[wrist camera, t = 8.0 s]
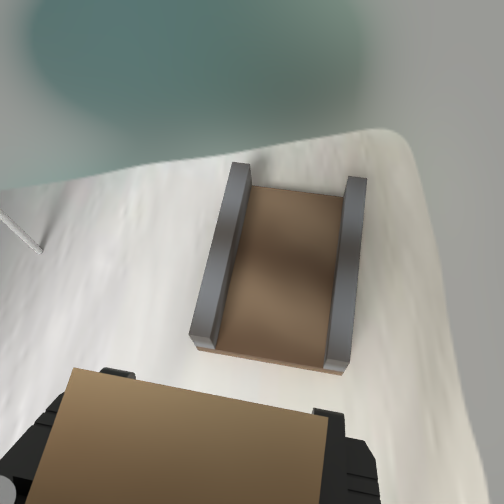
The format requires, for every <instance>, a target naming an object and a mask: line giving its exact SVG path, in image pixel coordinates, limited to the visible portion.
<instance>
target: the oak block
mask: <svg viewBox="0 0 504 504" xmlns="http://www.w3.org/2000/svg"><path fill="white" fill-rule="evenodd" d="M327 426H328V417H324V416H319V415H314V414H309V413H303V412H298V411H293V410H288V409H283V408H278V407H273V406H268V405H263V404H258V403H252V402H247V401H242V400H237V399H232V398H227V397H222V396H217V395H212V394H206V393H201V392H196V391H191V390H186V389H181V388H176V387H171V386H166V385H161V384H155V383H150V382H145V381H140V380H135V379H130V378H125V377H120V376H115V375H109V374H104V373H99V372H94V371H89V370H84V369H79V368H73V370H72V373H71V376H70V379H69V382H68V384H67V387H66V390H65V393H64V396H63V398H62V401H61V404H60V407H59V410H58V412H57V415H56V418H55V421H54V424H53V426H52V429H51V432H50V435H49V438H48V440H47V443H46V446H45V449H44V452H43V454H42V457H41V460H40V463H39V466H38V468H37V471H36V474H35V477H34V480H33V482H32V485H31V488H30V491H29V494H28V496H27V499H26V502H25V504H319V496H320V488H321V479H322V470H323V461H324V452H325V444H326V435H327Z"/></svg>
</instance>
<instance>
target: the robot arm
mask: <svg viewBox="0 0 504 504" xmlns="http://www.w3.org/2000/svg"><path fill="white" fill-rule="evenodd" d="M99 373H104V374H109V375H115V376H120V377H125V378H130V379H135V380H136V376H135V374H134V373H133V372H128V371H123V370H117V369H112V368H107V367H105V368H103V369H102V370H101V371H100V372H99ZM64 393H65V392H63V393H62V394H60V395H59V396H58V397H57V398H56V399H55V400H54V401H53V402H52V404H51V405H50V406H49V407H48V408H47V409H46V412H45V413H42V415H41V416H40V417H39V418H38V419H37V420H36V421H35V423H34V425H32V426H31V427H30V428H29V429H28V430H27V431H26V432H25V433H24V434H23V435H22V437H21V438H20V439H19V440H18V441H17V442H16V443H15V444H14V445H13V447H12V448H11V449H10V450H9V451H8V452H7V453H6V454H5V455H4V456H3V458H2V459H1V460H0V504H25V502H26V499H27V496H28V494H29V491H30V488H31V485H32V482H33V480H34V477H35V474H36V471H37V468H38V466H39V463H40V460H41V457H42V454H43V452H44V449H45V446H46V443H47V440H48V438H49V435H50V432H51V429H52V426H53V424H54V421H55V418H56V415H57V412H58V410H59V407H60V404H61V401H62V398H63V396H64ZM312 414H314V415H319V416H324V417H328V426H327V435H326V444H325V452H324V461H323V470H322V479H321V488H320V496H319V504H381V500H380V492H379V484H378V476H377V468H376V460H375V458H374V456H373V455H372V453H371V451H370V450H369V448H368V446H367V445H366V443H365V441H363V440H358V439H353V438H348V437H345V419H344V414H343V413H338V412H333V411H328V410H322V409H317V408H313V411H312Z"/></svg>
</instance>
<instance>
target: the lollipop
mask: <svg viewBox="0 0 504 504" xmlns="http://www.w3.org/2000/svg"><path fill="white" fill-rule="evenodd" d="M0 220H1V221H2V222H4V223H5V224H6V225H7V226H8V227H9V228H10V229H11V230H12V231H13V232H14V233H15V234H16V235H18V236H19V237H20V238H21V239H22V240H23V241H24V242H25V243H26V244H27V245H28V246H29V247H30V248H31V249H33V250H34V251H35V252H36V253H37V254H41V253H42V252H43V250H42V249H41V248H40V247H39V246H38V245H37V244H36V243H35V242H34V241H33V240H32V239H31V238H30V237H29V236H28V235H27V234H26V233H25V232H24V231H23V230H22V229H21V228H20V227H19V226H18V225H17V224H16V223H15V222H14V221H13V220H12V219H11V218H9V217H8V216H7V215H6V214H5V213H4V212H3V211H2V210H1V209H0Z"/></svg>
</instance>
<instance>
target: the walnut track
mask: <svg viewBox="0 0 504 504" xmlns="http://www.w3.org/2000/svg"><path fill="white" fill-rule="evenodd" d="M366 185H367V178H360V177H352V176H348V180H347V184H346V188H345V193H344V197H337V196H329V195H322V194H314V193H306V192H298V191H290V190H282V189H275V188H267V187H259V186H252V182H251V170H250V164H245V163H237V162H232V165H231V169H230V173H229V177H228V181H227V185H226V189H225V193H224V197H223V201H222V205H221V209H220V213H219V217H218V221H217V224H216V228H215V232H214V236H213V240H212V244H211V248H210V252H209V256H208V260H207V264H206V268H205V272H204V276H203V280H202V284H201V288H200V292H199V295H198V299H197V303H196V307H195V311H194V315H193V319H192V323H191V327H190V331H189V336H190V338H191V339H192V341H193V342H194V344H195V346H196V347H197V349H198V350H200V351H206V352H211V353H217V354H223V355H228V356H234V357H240V358H245V359H251V360H257V361H262V362H268V363H274V364H279V365H285V366H290V367H296V368H302V369H307V370H313V371H319V372H324V373H330V374H336V375H341V376H342V374H343V372H344V371H345V369H346V368H347V366H348V364H349V363H350V355H351V344H352V334H353V323H354V312H355V302H356V291H357V281H358V270H359V259H360V249H361V238H362V228H363V217H364V206H365V196H366Z"/></svg>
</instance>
